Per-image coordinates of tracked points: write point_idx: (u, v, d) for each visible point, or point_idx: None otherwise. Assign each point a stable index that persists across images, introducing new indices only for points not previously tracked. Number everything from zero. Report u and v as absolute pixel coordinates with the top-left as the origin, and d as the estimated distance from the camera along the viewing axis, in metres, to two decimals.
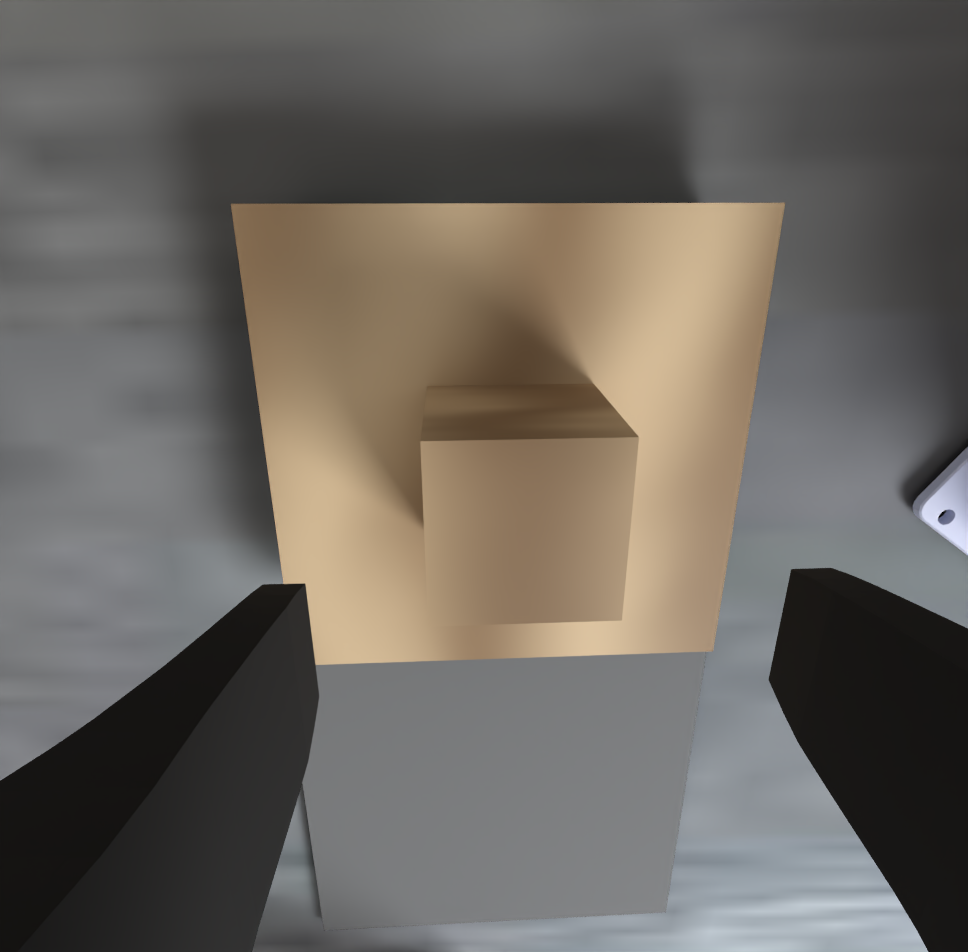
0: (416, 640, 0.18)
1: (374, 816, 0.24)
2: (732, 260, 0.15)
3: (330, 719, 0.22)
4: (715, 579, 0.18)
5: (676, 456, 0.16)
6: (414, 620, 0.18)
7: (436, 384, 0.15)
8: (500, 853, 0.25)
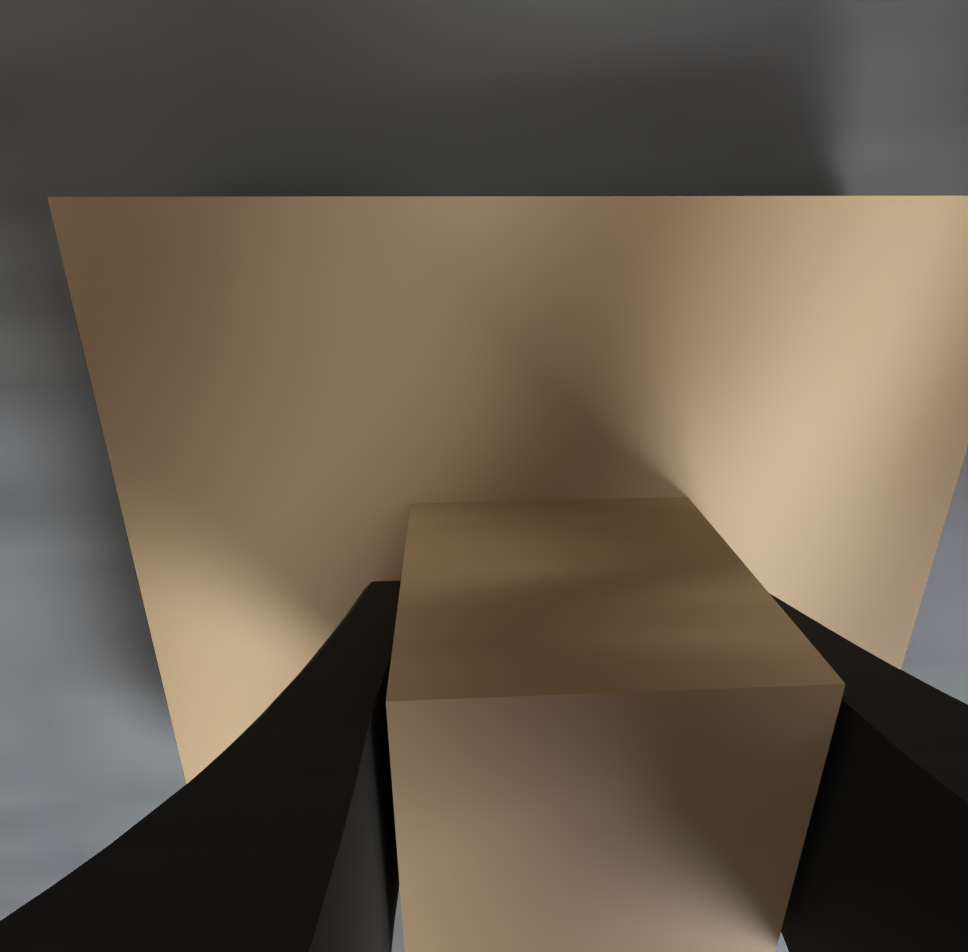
0: None
1: None
2: (938, 295, 0.08)
3: None
4: None
5: (813, 604, 0.10)
6: None
7: (426, 501, 0.09)
8: None
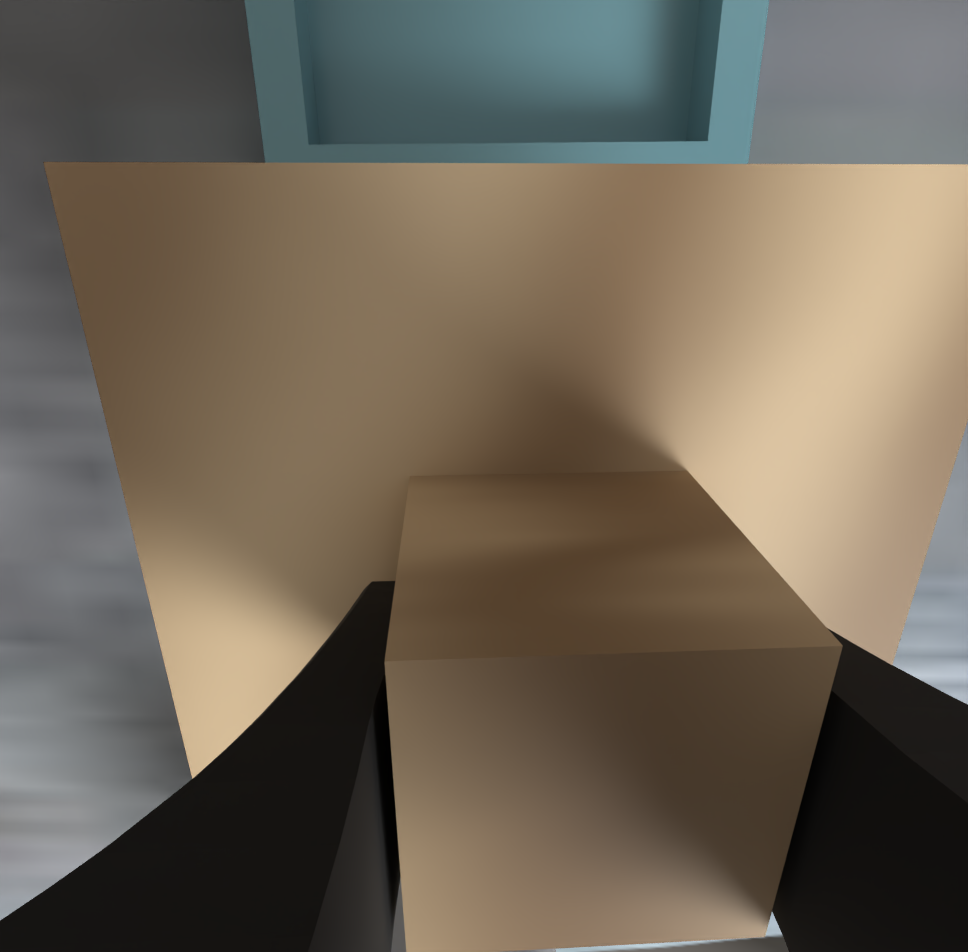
0: None
1: None
2: (939, 267, 0.08)
3: None
4: None
5: (811, 579, 0.10)
6: None
7: (425, 473, 0.09)
8: None
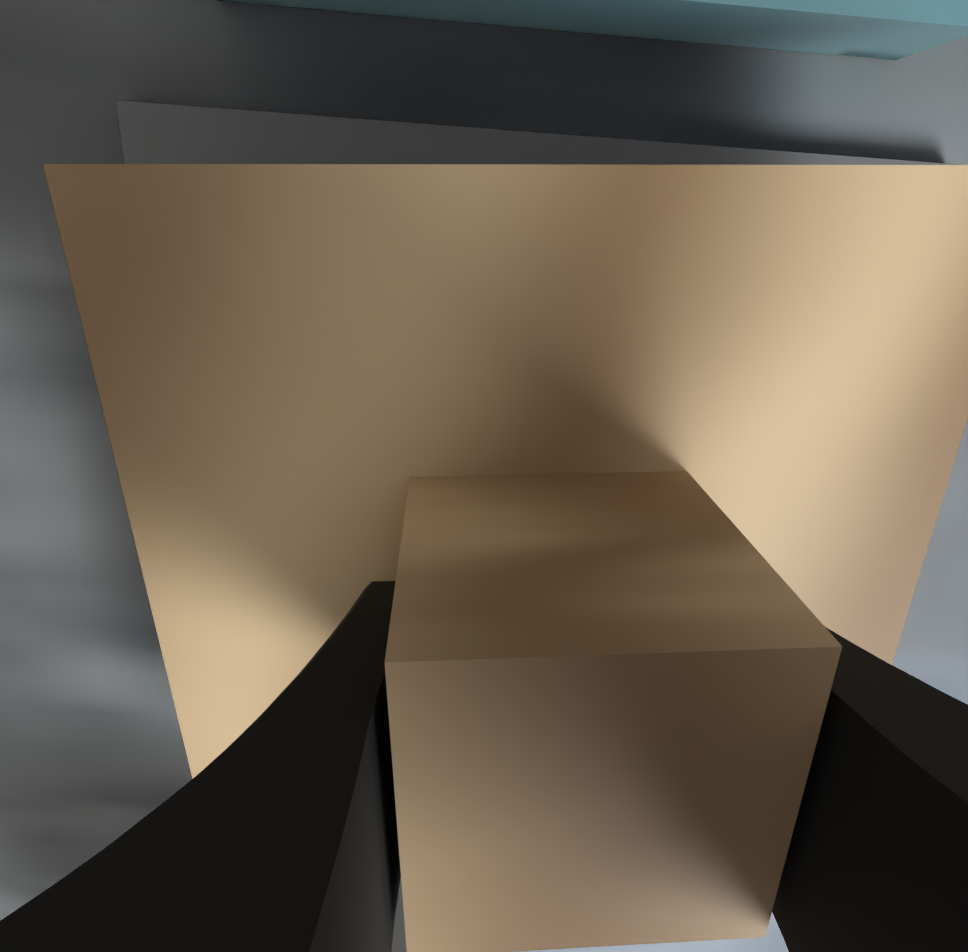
0: None
1: None
2: (938, 267, 0.08)
3: None
4: None
5: (811, 580, 0.10)
6: None
7: (425, 474, 0.09)
8: None
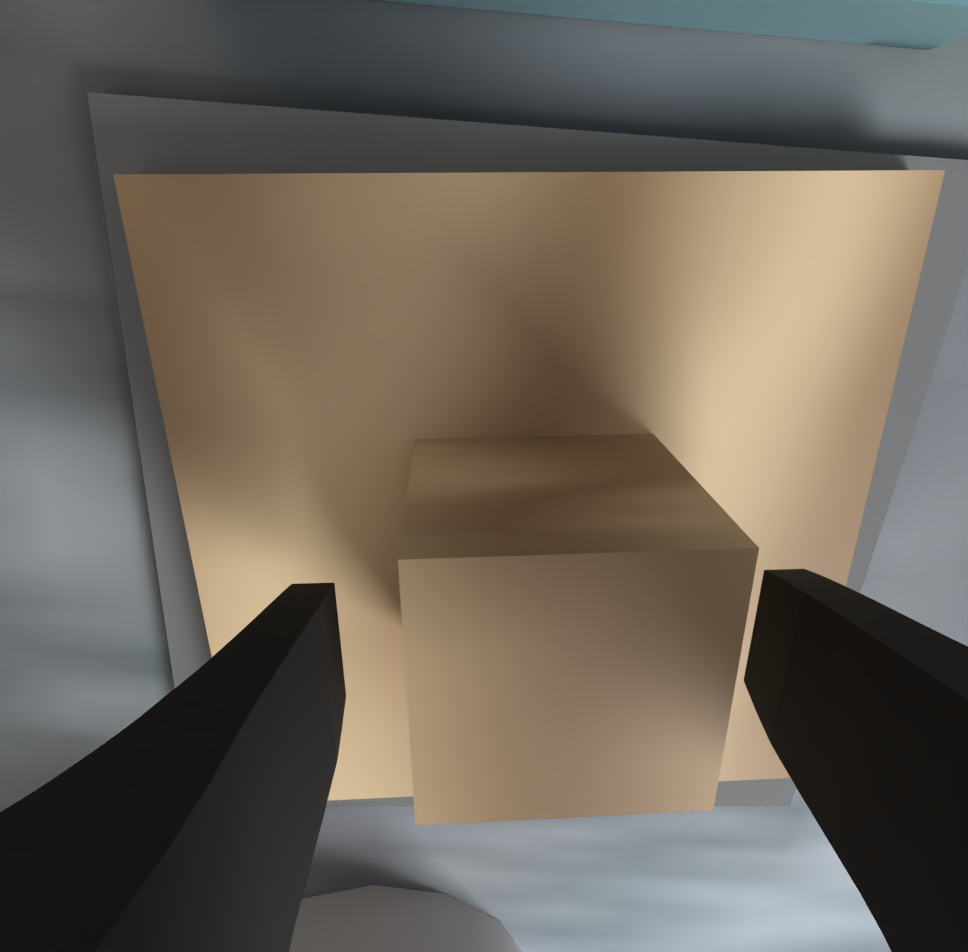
0: (405, 771, 0.13)
1: None
2: (861, 256, 0.10)
3: None
4: None
5: (765, 531, 0.12)
6: (402, 746, 0.13)
7: (428, 437, 0.11)
8: None
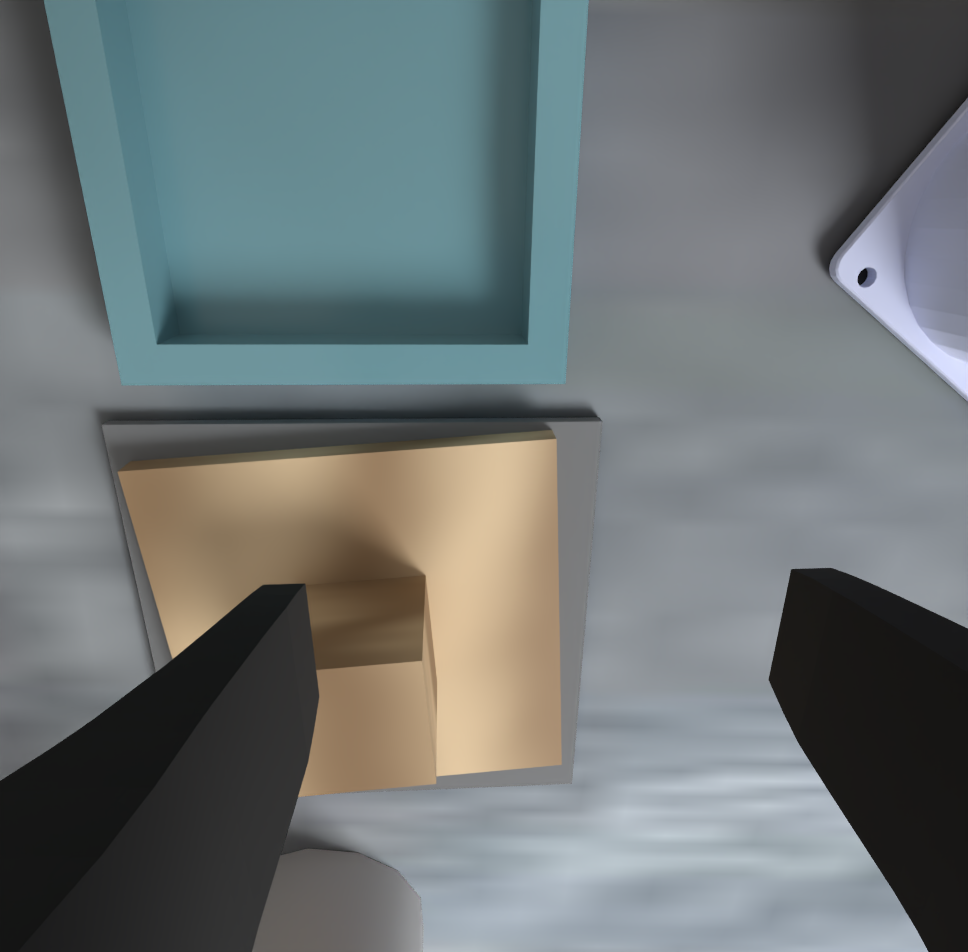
0: None
1: None
2: (521, 481, 0.18)
3: None
4: (553, 710, 0.22)
5: (503, 622, 0.20)
6: None
7: None
8: None
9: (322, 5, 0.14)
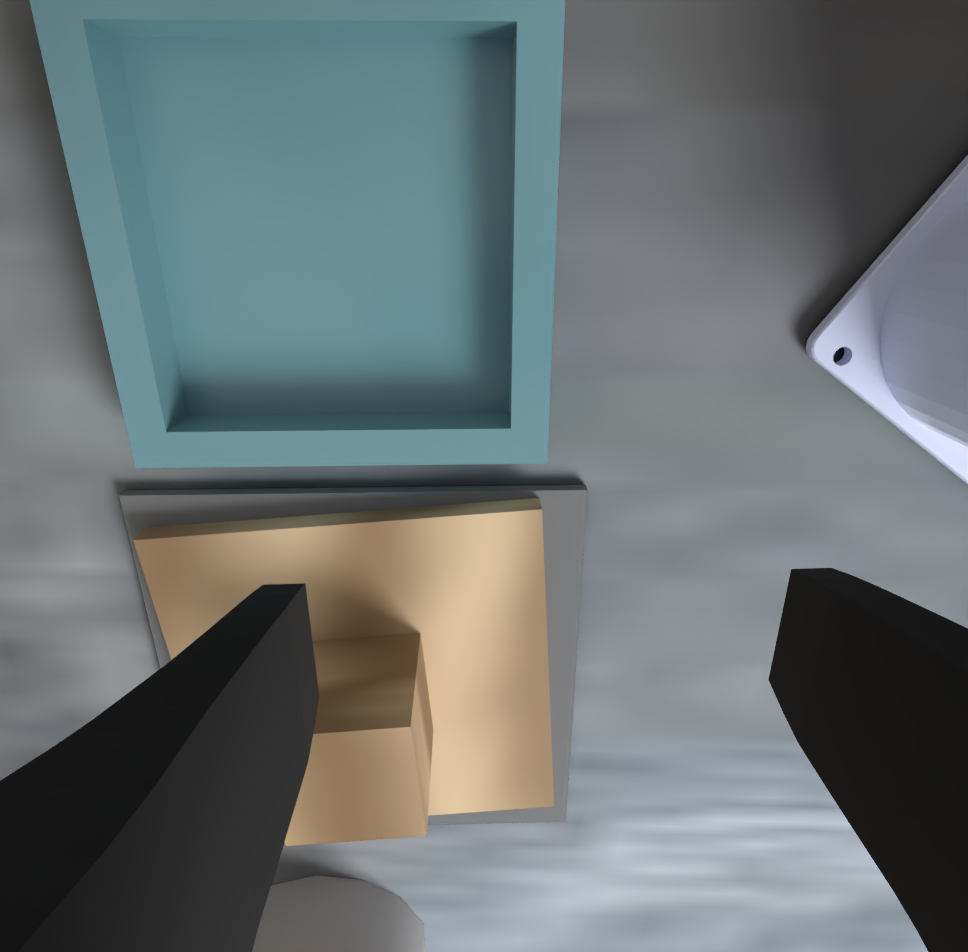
0: None
1: None
2: (509, 548, 0.19)
3: None
4: (544, 756, 0.23)
5: (495, 676, 0.21)
6: None
7: None
8: None
9: (315, 122, 0.15)
